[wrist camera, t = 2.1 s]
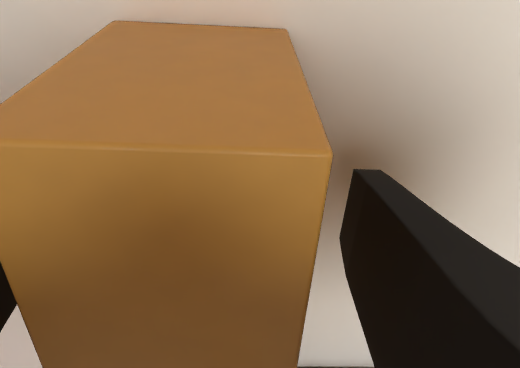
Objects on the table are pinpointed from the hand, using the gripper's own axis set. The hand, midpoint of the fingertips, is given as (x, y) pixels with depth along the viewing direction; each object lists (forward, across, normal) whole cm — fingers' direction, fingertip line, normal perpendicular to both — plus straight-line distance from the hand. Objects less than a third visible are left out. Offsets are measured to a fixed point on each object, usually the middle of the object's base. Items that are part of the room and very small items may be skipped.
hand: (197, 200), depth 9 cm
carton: (+2, 0, 0) cm, 2 cm away
